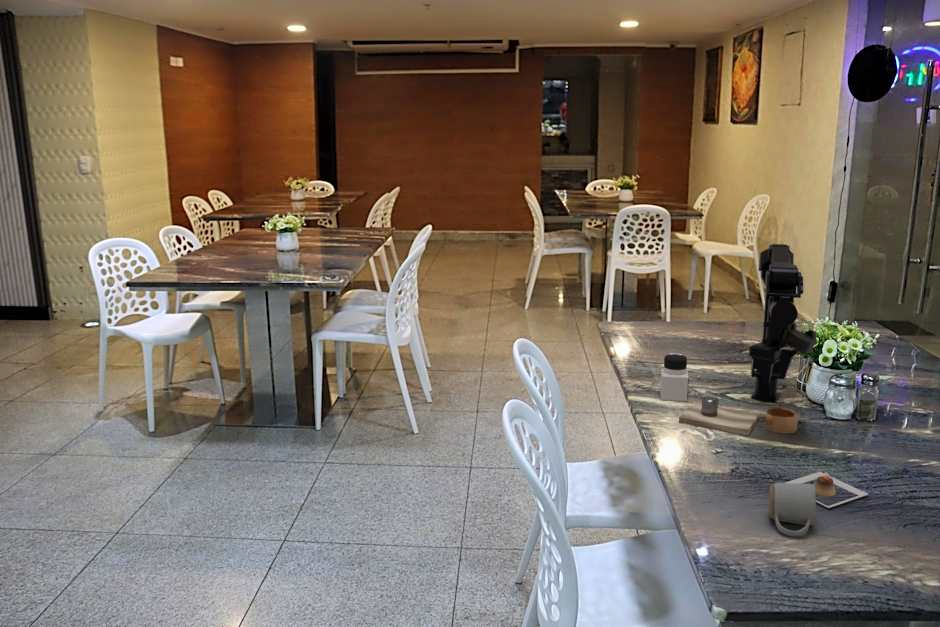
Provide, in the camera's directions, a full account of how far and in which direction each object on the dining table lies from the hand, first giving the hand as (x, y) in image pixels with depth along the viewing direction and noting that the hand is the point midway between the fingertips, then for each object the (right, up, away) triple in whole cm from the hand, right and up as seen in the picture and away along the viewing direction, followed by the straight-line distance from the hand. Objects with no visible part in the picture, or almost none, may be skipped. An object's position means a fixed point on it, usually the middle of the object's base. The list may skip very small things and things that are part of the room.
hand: (774, 380), depth 194 cm
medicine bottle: (-18, -7, +26) cm, 32 cm away
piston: (-13, -9, +9) cm, 19 cm away
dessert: (-1, -21, -29) cm, 36 cm away
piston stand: (-11, -11, +8) cm, 18 cm away
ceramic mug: (-13, -24, -42) cm, 50 cm away
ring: (+3, -12, +3) cm, 13 cm away
